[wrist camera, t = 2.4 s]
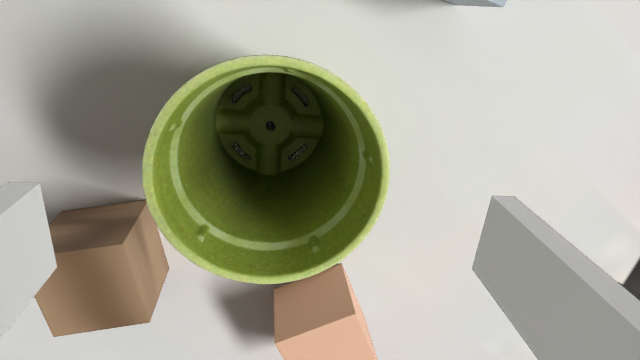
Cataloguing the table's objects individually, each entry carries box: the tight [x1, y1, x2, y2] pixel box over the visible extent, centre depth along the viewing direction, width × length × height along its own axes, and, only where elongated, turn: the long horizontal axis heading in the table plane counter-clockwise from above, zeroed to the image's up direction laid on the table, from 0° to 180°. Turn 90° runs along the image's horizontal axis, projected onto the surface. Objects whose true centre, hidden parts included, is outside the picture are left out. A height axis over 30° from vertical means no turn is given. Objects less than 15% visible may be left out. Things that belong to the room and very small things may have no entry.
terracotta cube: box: [274, 263, 377, 360], centre depth 27 cm, size 5×5×5 cm
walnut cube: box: [34, 200, 169, 337], centre depth 23 cm, size 5×5×5 cm
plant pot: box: [142, 55, 390, 284], centre depth 20 cm, size 9×9×9 cm
